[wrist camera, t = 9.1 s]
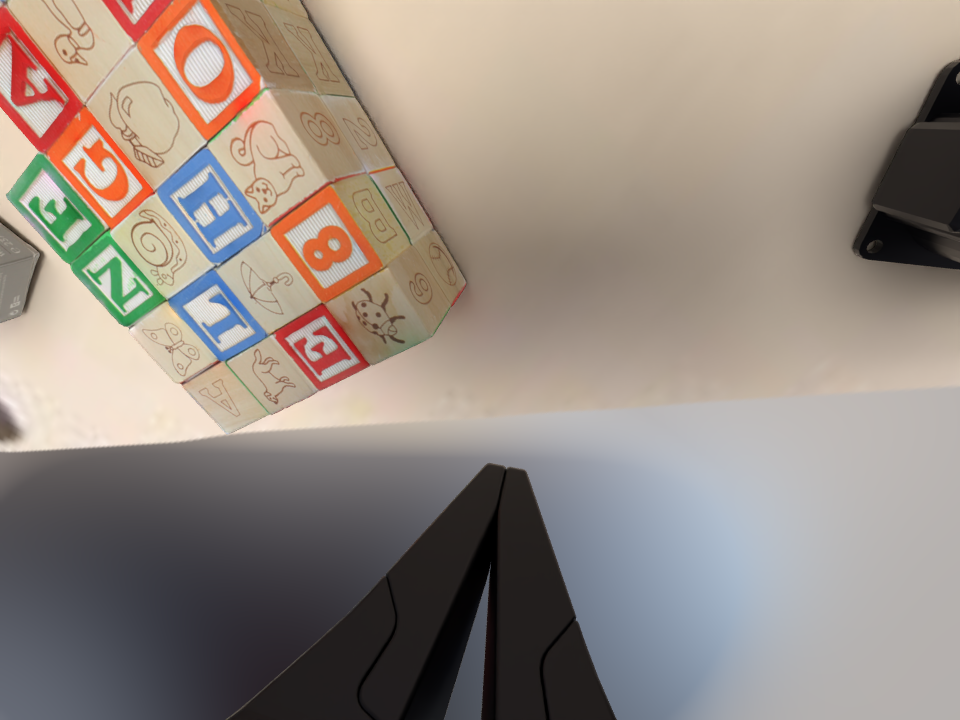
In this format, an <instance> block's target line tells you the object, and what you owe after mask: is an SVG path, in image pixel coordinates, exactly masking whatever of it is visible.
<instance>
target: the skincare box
mask: <svg viewBox="0 0 960 720" xmlns="http://www.w3.org/2000/svg"><path fill="white" fill-rule="evenodd" d="M39 256H40V254H39V252H38V251H36V250H35V249H34V248H33V247H32V246H31V245H29V244H27V243H25V242H24V241H23V240H22V239H20V238H19V237H18V236H17V235H15V234H14V233H13V232H12V231H10V230H9V229H8V228H7V227H5V226H4V225H3V224H2V223H0V323H2V322H5V321H7V320H10V319H13V318H16V317H18V316H20V315H21V314H22V311H23V308H24V305H25V301H26V296H27V292H28V288H29V284H30V281H31V278H32V275H33V272H34V268H35V265H36V263H37V261H38V258H39Z"/></svg>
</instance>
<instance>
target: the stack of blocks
mask: <svg viewBox="0 0 960 720" xmlns="http://www.w3.org/2000/svg"><path fill="white" fill-rule="evenodd" d="M0 107H1V108H2V109H3V111H4V112H5V113H6V114H7V115H8V116H9V118H10V119H11V120H12V121H13V122H14V123H15V125H16V126H17V127H18V128H19V129H20V130H21V131H22V133H23V134H24V135H25V136H26V137H27V138H28V140H29V141H30V142H31V143H32V144H33V145H34V146H35V147H36V149H37V150H38V151H39V152H38V154H37V155H36V156H35V158H34V159H33V161H32V162H31V163H30V165H29V166H28V167H27V169H26V170H25V171H24V173H23V174H22V175H21V176H20V178H19V179H18V180H17V182H16V183H15V184H14V186H13V188H12V189H11V190H10V191H9V192H8V193H7V194H6V197H7V199H8V200H9V201H10V202H11V203H12V204H13V205H14V206H15V207H16V209H17V210H18V211H19V212H20V213H21V214H22V215H23V217H24V218H25V219H26V220H27V221H28V222H29V223H30V224H31V225H32V227H33V228H34V229H35V230H36V231H37V232H38V233H39V234H40V235H41V236H42V237H43V239H44V240H45V241H46V242H47V243H48V244H49V245H50V246H51V247H52V248H53V250H54V251H55V252H56V253H57V254H58V255H59V256H60V257H61V258H62V259H63V260H64V261H65V262H66V263H68V264H70V267H71V270H72V271H73V273H74V274H75V275H76V276H77V277H78V278H79V280H80V281H81V282H82V283H83V284H84V285H85V286H86V287H87V288H88V289H89V290H90V292H91V293H92V294H93V295H94V296H95V297H96V299H97V300H99V302H100V303H101V304H102V305H103V306H104V307H105V308H106V309H107V310H108V312H109V313H110V314H111V315H112V316H113V317H114V318H115V319H116V320H117V321H118V323H119V324H121V325H123V326H126V327H128V328H129V333H130V334H131V336H132V337H133V338H134V339H135V340H136V341H137V342H138V344H139V345H140V346H141V347H142V348H143V349H144V350H145V351H146V352H147V353H148V355H149V356H150V357H151V358H152V359H153V360H154V361H155V362H156V363H157V364H158V366H159V367H160V368H161V369H162V370H163V371H164V372H165V373H166V374H167V375H168V376H169V377H170V379H171V380H172V381H173V382H175V383H180V384H182V386H183V388H184V389H185V390H186V391H187V393H188V394H189V395H190V396H191V397H192V398H193V399H194V400H195V401H196V402H197V404H198V405H200V406H201V407H202V408H203V409H204V411H205V412H206V413H207V414H208V415H209V416H210V417H211V418H212V419H213V420H214V421H215V422H216V424H217V425H218V426H219V427H220V428H221V429H222V430H223V431H224V432H225V433H226V434H230V433H233V432H235V431H237V430H239V429H241V428H243V427H245V426H247V425H249V424H251V423H253V422H255V421H257V420H259V419H261V418H263V417H265V416H267V415H273V414H275V413H277V412H279V411H281V410H283V409H284V408H288V407H290V406H291V405H293V404H295V403H297V402H300V401H302V400H304V399H306V398H308V397H310V396H312V395H314V394H315V393H317V392H318V391H321V390H323V389H325V388H327V387H329V386H331V385H333V384H335V383H337V382H339V381H341V380H343V379H345V378H347V377H349V376H351V375H353V374H355V373H357V372H359V371H361V370H363V369H365V368H367V367H369V366H370V365H374V364H377V363H379V362H381V361H383V360H385V359H387V358H389V357H392V356H394V355H396V354H398V353H400V352H403V351H405V350H407V349H409V348H411V347H413V346H415V345H417V344H419V343H421V342H423V341H425V340H427V339H429V338H430V337H432V336H433V335H434V333H435V332H436V330H437V329H438V327H439V325H440V324H441V322H442V320H443V319H444V317H445V316H446V314H447V313H448V311H449V309H450V307H452V306H453V305H454V303H455V302H456V300H457V299H458V297H459V296H460V294H461V293H462V291H463V289H464V288H465V286H466V281H465V279H464V277H463V275H462V273H461V272H460V270H459V268H458V267H457V265H456V263H455V262H454V260H453V258H452V257H451V255H450V253H449V252H448V250H447V248H446V247H445V245H444V243H443V242H442V240H441V238H440V237H439V235H438V233H437V232H436V231H435V230H434V229H433V225H432V223H431V222H430V220H429V218H428V217H427V215H426V213H425V212H424V210H423V208H422V207H421V205H420V203H419V202H418V200H417V198H416V197H415V195H414V193H413V192H412V190H411V188H410V187H409V185H408V183H407V182H406V180H405V179H404V177H403V175H402V174H401V172H400V171H399V169H398V168H396V166H395V163H394V161H393V159H392V158H391V156H390V154H389V152H388V151H387V149H386V147H385V146H384V144H383V142H382V141H381V139H380V137H379V136H378V134H377V132H376V131H375V129H374V127H373V126H372V124H371V122H370V120H369V119H368V117H367V115H366V114H365V112H364V111H363V109H362V107H361V106H360V104H359V102H358V101H357V100H356V99H355V96H354V94H353V92H352V90H351V88H350V87H349V85H348V83H347V82H346V80H345V78H344V77H343V75H342V73H341V72H340V70H339V68H338V66H337V65H336V63H335V61H334V60H333V58H332V56H331V55H330V53H329V51H328V50H327V48H326V46H325V44H324V43H323V41H322V39H321V38H320V36H319V34H318V33H317V31H316V29H315V28H314V26H313V24H312V23H311V22H310V21H309V19H308V15H307V12H306V11H305V9H304V7H303V6H302V4H301V3H300V1H299V0H0Z"/></svg>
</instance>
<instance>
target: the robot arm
mask: <svg viewBox="0 0 960 720" xmlns="http://www.w3.org/2000/svg"><path fill="white" fill-rule="evenodd" d="M959 72H960V59H958V60H956V61H954V62H952V63H950V64H949V65H948V66H947V67H946V68H944V70H943V71H942V73H941V74H940V76H939V77H938V79H937V81H936V83H935V85H934V87H933V89H932V91H931V93H930V95H929V97H928V99H927V101H926V103H925V105H924V107H923V109H922V111H921V113H920V115H919V117H918V119H917V121H916V123H915V125H914V126H913V127H911V128H910V129H909V130H908V131H907V133H906V135H905V137H904V139H903V141H902V143H901V145H900V147H899V149H898V150H897V152H896V154H895V156H894V158H893V160H892V162H891V164H890V166H889V168H888V170H887V172H886V174H885V176H884V178H883V180H882V182H881V184H880V186H879V188H878V190H877V192H876V194H875V196H874V198H873V200H872V204H873V208H872V210H871V212H870V214H869V216H868V218H867V219H866V221H865V223H864V225H863V227H862V229H861V231H860V233H859V235H858V237H857V239H856V241H855V243H854V247H853V249H854V252H855V253H856V254H857V255H858V256H860V257H862V258H865V259H868V260H876V261H886V262H895V263H904V264H913V265H923V266H932V267H941V268H950V269H960V83H959V84H957V82H956V77H957V74H958V73H959ZM875 240H876V241H877V243H876V246H875V247H874V248H873V249H871V250H868V251H867V246H868V245H869V243H871V242H872V241H875ZM490 565H491V569H490ZM489 569H490V577H489V591H488V608H487V625H486V642H485V643H486V644H485V659H484V676H483V693H482V710H481V720H617V719H616V717H615V715H614V712H613V710H612V708H611V706H610V703H609V701H608V699H607V696H606V694H605V692H604V689H603V687H602V685H601V683H600V680H599V678H598V675H597V673H596V670H595V667H594V665H593V662H592V659H591V657H590V654H589V651H588V649H587V646H586V643H585V640H584V638H583V635H582V632H581V629H580V626H579V623H578V622H577V621H576V615H575V612H574V609H573V606H572V603H571V600H570V597H569V594H568V591H567V589H566V585H565V582H564V580H563V577H562V574H561V571H560V568H559V565H558V562H557V559H556V556H555V553H554V550H553V547H552V544H551V541H550V539H549V536H548V533H547V530H546V527H545V524H544V521H543V518H542V515H541V512H540V509H539V506H538V503H537V500H536V498H535V495H534V492H533V489H532V486H531V483H530V480H529V477H528V474H527V472H526V471H525V470H523V469H519V468H513V467H508V468H507V469H506V467H505V466H503V465H497V464H492V463H488V464H486V465H485V466H484V467H483V468H482V469H481V470H480V472H479V473H478V474H477V475H476V476H475V477H474V478H473V479H472V480H471V481H470V482H469V483H468V485H467V486H466V487H465V488H464V489H463V490H462V491H461V492H460V493H459V494H458V495H457V497H456V498H455V499H454V500H453V501H452V502H451V503H450V504H449V505H448V506H447V507H446V509H445V510H444V511H443V512H442V513H441V514H440V515H439V516H438V517H437V518H436V519H435V521H434V522H433V523H432V524H431V525H430V526H429V527H428V528H427V529H426V530H425V532H424V533H423V534H422V535H421V536H420V537H419V538H418V539H417V540H416V541H415V542H414V544H412V546H411V547H410V548H409V549H408V550H407V551H406V552H405V553H404V554H403V555H402V556H401V558H400V559H399V560H398V561H397V562H396V563H395V564H394V565H393V566H392V567H391V568H390V570H389V571H388V572H387V573H386V576H383V577H382V578H381V579H380V580H379V581H378V582H377V583H376V585H375V586H374V587H373V588H372V589H371V590H370V591H369V592H368V593H367V594H366V595H365V596H364V597H363V598H362V599H361V600H360V601H359V603H358V604H356V605H355V606H354V608H352V610H351V611H350V612H349V613H348V614H347V615H346V616H344V617H343V618H342V619H341V620H340V621H339V622H338V623H337V624H336V625H335V626H334V627H333V628H331V629H330V630H329V631H328V632H327V633H326V634H325V635H324V636H323V637H322V638H321V639H319V640H318V641H317V642H316V643H315V644H314V645H313V646H312V647H310V648H309V649H308V650H307V651H306V652H305V653H303V654H302V655H301V656H300V657H299V658H298V659H297V660H296V661H294V662H293V663H292V664H291V665H290V666H289V667H288V668H286V669H285V670H284V671H283V672H282V673H281V674H280V675H278V676H277V677H276V678H275V679H274V680H273V681H272V682H270V683H269V684H268V685H267V686H266V687H265V688H264V689H263V690H261V691H260V692H259V693H258V694H257V695H256V696H255V697H253V698H252V699H251V700H250V701H249V702H248V703H246V704H245V705H244V706H243V707H242V708H241V709H239V710H238V711H237V712H235V713H234V714H233V715H231V716H230V717H229V718H227V719H226V720H444V718H445V715H446V712H447V708H448V705H449V702H450V698H451V695H452V692H453V689H454V685H455V682H456V679H457V676H458V672H459V669H460V666H461V663H462V659H463V656H464V653H465V650H466V646H467V643H468V640H469V637H470V633H471V630H472V627H473V623H474V620H475V617H476V614H477V610H478V607H479V604H480V601H481V597H482V594H483V591H484V588H485V584H486V581H487V577H488V574H489Z"/></svg>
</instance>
